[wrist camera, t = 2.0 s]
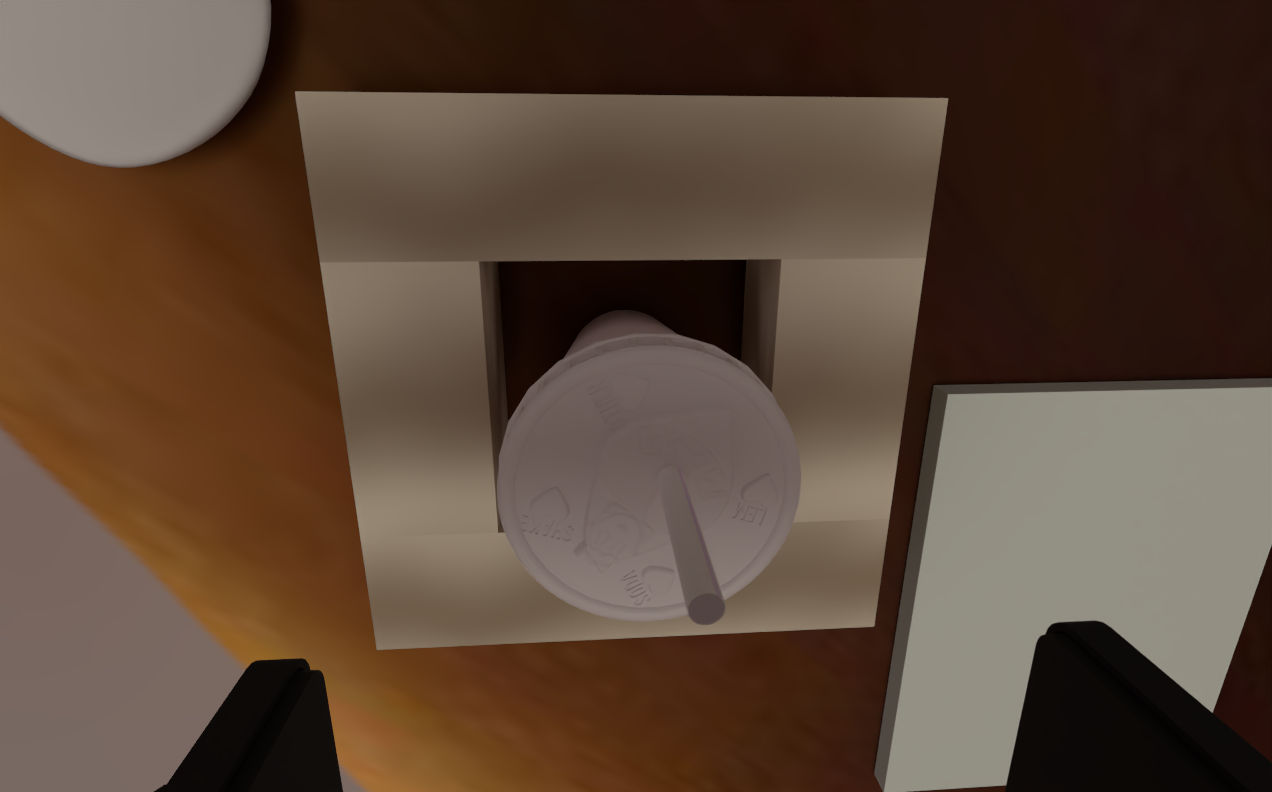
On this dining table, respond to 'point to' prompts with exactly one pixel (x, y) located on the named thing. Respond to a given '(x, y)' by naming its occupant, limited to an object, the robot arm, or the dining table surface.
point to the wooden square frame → (595, 231)
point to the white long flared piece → (129, 73)
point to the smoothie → (647, 474)
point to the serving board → (1069, 551)
